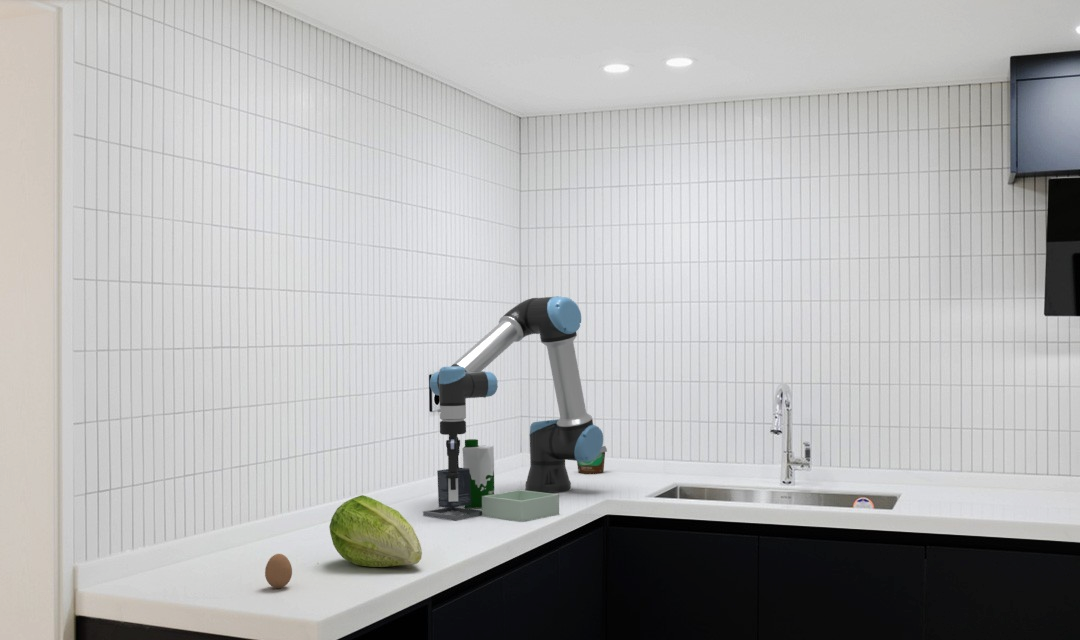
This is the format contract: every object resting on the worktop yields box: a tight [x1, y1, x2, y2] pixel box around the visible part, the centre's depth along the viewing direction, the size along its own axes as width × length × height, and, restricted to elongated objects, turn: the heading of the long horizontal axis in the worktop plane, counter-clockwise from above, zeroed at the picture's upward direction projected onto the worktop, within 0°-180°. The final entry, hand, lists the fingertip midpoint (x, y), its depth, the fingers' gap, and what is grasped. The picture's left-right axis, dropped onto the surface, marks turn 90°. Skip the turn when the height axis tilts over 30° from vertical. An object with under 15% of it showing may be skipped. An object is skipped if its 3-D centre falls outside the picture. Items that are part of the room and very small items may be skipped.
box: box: [436, 467, 471, 508], centre depth 303 cm, size 8×6×11 cm
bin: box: [481, 489, 560, 522], centre depth 302 cm, size 16×16×6 cm
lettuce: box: [329, 494, 423, 568], centre depth 238 cm, size 15×25×16 cm
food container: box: [576, 445, 608, 475], centre depth 391 cm, size 12×6×10 cm, turn 81°
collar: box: [422, 506, 483, 522], centre depth 303 cm, size 12×14×1 cm
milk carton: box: [461, 438, 495, 509], centre depth 319 cm, size 9×9×20 cm
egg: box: [264, 553, 293, 589], centre depth 217 cm, size 5×5×7 cm
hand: (454, 498), depth 303 cm, fingers closed on box, 9 cm apart
